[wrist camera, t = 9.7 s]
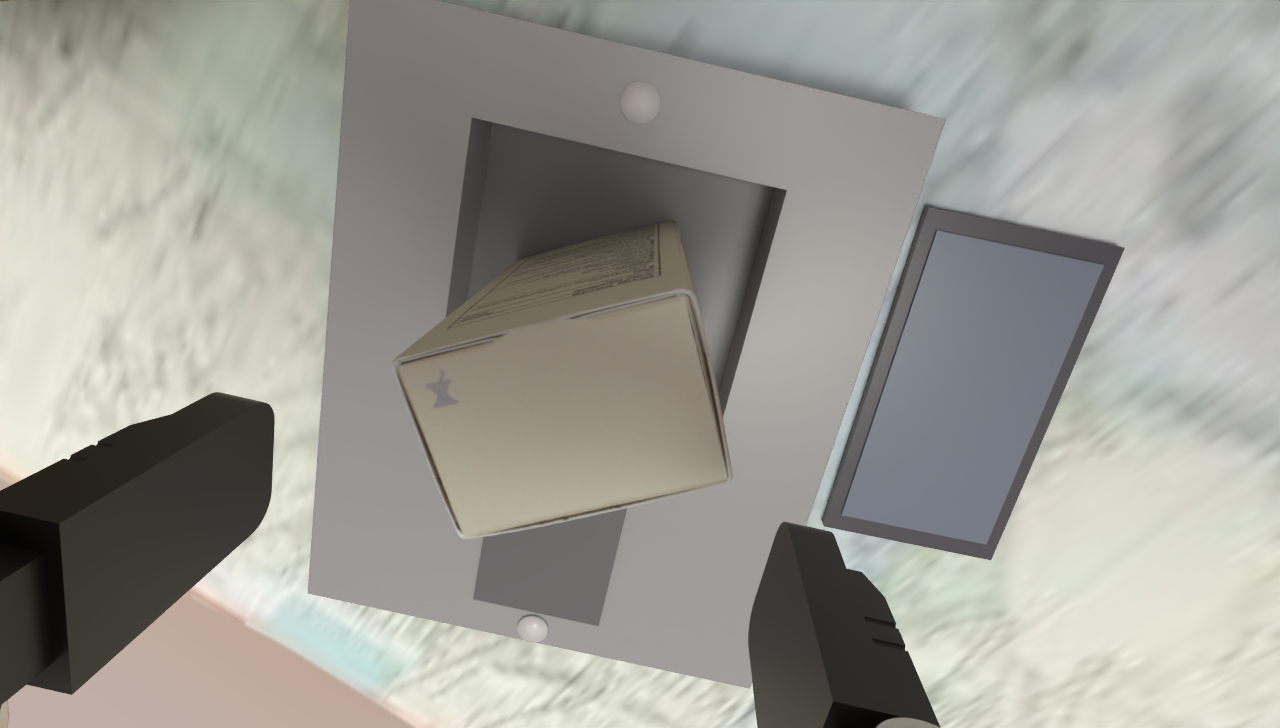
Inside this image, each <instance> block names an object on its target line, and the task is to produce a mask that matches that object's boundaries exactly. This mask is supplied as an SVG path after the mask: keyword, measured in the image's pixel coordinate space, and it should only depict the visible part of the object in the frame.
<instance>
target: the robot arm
mask: <svg viewBox="0 0 1280 728" xmlns="http://www.w3.org/2000/svg"><path fill="white" fill-rule="evenodd" d="M273 445H274V413H273V410H272V408H271V406H270V405H269V404H267V403H264V402H260V401H255V400H251V399H246V398H242V397H238V396H233V395H229V394H224V393H219V392H216V393H212V394H210V395H208V396H206V397H204V398H202V399H200V400H198V401H196V402H194V403H192V404H190V405H189V406H187V407H185V408H183V409H181V410H179V411H177V412H175V413H173V414H171V415H167V416H163V417H160V418H156V419H152V420H148V421H144V422H141V423H137V424H133V425H130V426H128V427H126V428H124V429H122V430H120V431H118V432H116V433H114V434H112V435H110V436H108V437H106V438H104V439H102V440H100V441H98V444H97V445H96V446H95V445H90V446H88V447H86V448H84V449H82V450H80V451H78V452H76V453H74V454H72V455H71V457H70V459H69V460H67V459H62V460H60V461H58V462H56V463H54V464H52V465H50V466H48V467H46V468H44V469H43V470H41V471H39V472H37V473H35V474H33V475H31V476H29V477H27V478H25V479H23V480H21V481H19V482H17V483H15V484H13V485H11V486H9V487H7V488H5V489H3V490H1V491H0V728H8V724H9V706H8V699H9V698H10V697H11V696H13V695H14V694H15V693H16V692H18V691H19V690H20V689H21V688H23V687H24V686H25V685H26V684H27V685H31V686H36V687H40V688H44V689H49V690H53V691H58V692H62V693H67V694H71V695H72V694H73V693H74V692H76V690H78V689H79V688H80V687H81V686H82V685H83V684H84V683H86V682H87V681H88V680H89V679H90V678H91V677H92V676H93V675H94V674H95V673H97V672H98V671H99V670H100V669H101V668H102V667H103V666H105V665H106V664H107V663H108V662H109V661H110V660H111V659H112V658H113V657H114V656H116V655H117V654H118V653H119V652H120V651H121V650H123V649H124V647H126V646H127V645H128V644H129V643H130V642H131V641H133V639H135V638H136V637H137V636H138V635H139V634H140V633H142V632H143V631H144V630H145V629H146V628H147V627H148V626H149V625H150V624H152V623H153V622H154V621H155V620H156V619H157V618H158V617H159V616H160V615H162V614H163V613H164V612H165V611H166V610H167V609H168V608H170V607H171V606H172V605H173V604H174V603H175V602H176V601H177V600H178V599H179V598H181V597H182V596H183V595H184V594H185V593H186V592H187V591H189V590H190V589H191V588H192V587H193V586H194V585H195V584H196V583H197V582H199V581H200V580H201V579H202V578H203V577H204V576H205V575H206V574H208V573H209V572H210V571H211V570H212V569H213V568H214V567H215V566H217V565H218V564H219V563H220V562H221V561H222V560H223V559H224V558H225V557H227V556H228V555H229V554H230V553H231V552H232V551H233V550H234V549H236V548H237V547H238V546H239V545H240V544H241V543H242V542H243V541H244V540H246V539H247V538H248V537H249V536H250V535H251V534H252V533H253V532H254V531H255V530H256V529H257V528H258V526H259V525H260V523H261V522H262V520H263V518H264V516H265V514H266V512H267V509H268V506H269V503H270V498H271V491H272V468H273ZM895 626H896V622H895V620H894V618H893V615H892V613H891V611H890V608H889V606H888V604H887V601H886V599H885V597H884V596H883V595H882V594H881V593H880V592H879V591H878V589H877V588H876V587H875V586H874V585H873V584H872V583H871V582H870V581H869V580H868V578H867V577H866V576H865V575H864V574H863V573H862V572H859V571H854V570H850V569H846V567H845V564H844V561H843V558H842V556H841V553H840V550H839V547H838V545H837V542H836V539H835V537H834V535H833V533H832V532H829V531H825V530H820V529H816V528H812V527H807V526H803V525H798V524H794V523H789V522H782V523H781V525H780V526H779V528H778V530H777V532H776V535H775V538H774V541H773V544H772V547H771V550H770V553H769V557H768V560H767V563H766V566H765V569H764V572H763V575H762V578H761V581H760V584H759V588H758V591H757V594H756V597H755V600H754V603H753V607H752V611H751V616H750V622H749V632H748V648H749V657H750V665H751V674H752V683H753V691H754V700H755V709H756V717H757V726H758V728H940V725H939V723H938V721H937V718H936V716H935V714H934V711H933V709H932V707H931V704H930V702H929V700H928V697H927V695H926V693H925V690H924V688H923V686H922V683H921V681H920V679H919V676H918V674H917V672H916V669H915V667H914V665H913V662H912V660H911V658H910V655H909V653H908V651H905V644H904V641H903V639H902V636H901V634H900V632H899V629H897V628H895Z"/></svg>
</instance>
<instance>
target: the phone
mask: <svg viewBox="0 0 1280 728" xmlns="http://www.w3.org/2000/svg"><path fill="white" fill-rule="evenodd" d="M1123 251H1124V248H1123V247H1119V246H1114V245H1109V244H1105V243H1100V242H1095V241H1090V240H1085V239H1081V238H1076V237H1071V236H1066V235H1062V234H1057V233H1052V232H1047V231H1042V230H1038V229H1033V228H1028V227H1023V226H1019V225H1014V224H1009V223H1004V222H999V221H995V220H990V219H985V218H980V217H975V216H971V215H966V214H961V213H956V212H952V211H947V210H942V209H937V208H932V207H928V206H925V207H924V210H923V213H922V216H921V219H920V222H919V225H918V228H917V231H916V234H915V238H914V241H913V244H912V247H911V250H910V253H909V256H908V259H907V262H906V265H905V268H904V271H903V274H902V277H901V280H900V283H899V286H898V289H897V292H896V296H895V299H894V302H893V305H892V308H891V311H890V314H889V317H888V320H887V323H886V326H885V329H884V332H883V335H882V338H881V341H880V344H879V347H878V350H877V354H876V357H875V360H874V363H873V366H872V369H871V372H870V375H869V378H868V381H867V384H866V387H865V390H864V393H863V396H862V399H861V402H860V405H859V409H858V412H857V415H856V418H855V421H854V424H853V427H852V430H851V433H850V436H849V439H848V442H847V445H846V448H845V451H844V454H843V457H842V460H841V463H840V467H839V470H838V473H837V476H836V479H835V482H834V485H833V488H832V491H831V494H830V497H829V500H828V503H827V506H826V509H825V512H824V515H823V518H822V522H823V525H824V526H826V527H830V528H835V529H840V530H845V531H850V532H855V533H860V534H865V535H870V536H875V537H880V538H885V539H890V540H894V541H899V542H904V543H909V544H914V545H919V546H924V547H929V548H934V549H939V550H944V551H949V552H954V553H958V554H963V555H968V556H973V557H978V558H983V559H988V560H991V559H992V557H993V554H994V552H995V550H996V547H997V545H998V543H999V540H1000V538H1001V536H1002V533H1003V531H1004V529H1005V526H1006V524H1007V522H1008V519H1009V517H1010V515H1011V512H1012V510H1013V508H1014V505H1015V503H1016V501H1017V498H1018V496H1019V494H1020V491H1021V489H1022V487H1023V484H1024V482H1025V480H1026V477H1027V475H1028V473H1029V470H1030V468H1031V466H1032V463H1033V461H1034V459H1035V456H1036V454H1037V452H1038V449H1039V447H1040V445H1041V442H1042V440H1043V438H1044V435H1045V433H1046V431H1047V428H1048V426H1049V424H1050V421H1051V419H1052V417H1053V414H1054V412H1055V410H1056V407H1057V405H1058V403H1059V400H1060V398H1061V396H1062V393H1063V391H1064V389H1065V386H1066V384H1067V382H1068V379H1069V377H1070V375H1071V372H1072V370H1073V368H1074V365H1075V363H1076V361H1077V358H1078V356H1079V354H1080V351H1081V349H1082V347H1083V344H1084V342H1085V340H1086V337H1087V335H1088V333H1089V330H1090V328H1091V325H1092V323H1093V321H1094V318H1095V316H1096V314H1097V311H1098V309H1099V307H1100V304H1101V302H1102V300H1103V297H1104V295H1105V293H1106V290H1107V288H1108V286H1109V283H1110V281H1111V279H1112V276H1113V274H1114V272H1115V269H1116V267H1117V265H1118V262H1119V260H1120V258H1121V255H1122V253H1123Z"/></svg>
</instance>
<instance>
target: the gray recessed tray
mask: <svg viewBox="0 0 1280 728" xmlns="http://www.w3.org/2000/svg"><path fill="white" fill-rule="evenodd" d="M945 120H946V119H943V118H939V117H935V116H930V115H926V114H922V113H917V112H913V111H909V110H905V109H900V108H896V107H892V106H888V105H883V104H879V103H875V102H870V101H866V100H862V99H858V98H853V97H849V96H845V95H841V94H836V93H832V92H828V91H824V90H819V89H815V88H811V87H806V86H802V85H798V84H794V83H789V82H785V81H781V80H777V79H772V78H768V77H764V76H760V75H755V74H751V73H747V72H742V71H738V70H734V69H730V68H725V67H721V66H717V65H713V64H708V63H704V62H700V61H696V60H691V59H687V58H683V57H678V56H674V55H670V54H666V53H661V52H657V51H653V50H649V49H644V48H640V47H636V46H631V45H627V44H623V43H619V42H614V41H610V40H606V39H602V38H597V37H593V36H589V35H585V34H580V33H576V32H572V31H567V30H563V29H559V28H555V27H550V26H546V25H542V24H538V23H533V22H529V21H525V20H521V19H516V18H512V17H508V16H503V15H499V14H495V13H491V12H486V11H482V10H478V9H474V8H469V7H465V6H461V5H456V4H452V3H448V2H444V1H439V0H350V8H349V22H348V36H347V50H346V64H345V78H344V92H343V106H342V120H341V134H340V148H339V162H338V176H337V190H336V204H335V218H334V232H333V246H332V260H331V274H330V288H329V303H328V317H327V331H326V345H325V359H324V373H323V387H322V401H321V415H320V429H319V443H318V457H317V471H316V485H315V499H314V513H313V527H312V541H311V555H310V569H309V583H308V593H309V594H313V595H318V596H323V597H327V598H332V599H336V600H341V601H346V602H350V603H355V604H360V605H364V606H369V607H374V608H378V609H383V610H388V611H392V612H397V613H401V614H406V615H411V616H415V617H420V618H425V619H429V620H434V621H439V622H443V623H448V624H453V625H457V626H462V627H466V628H471V629H476V630H480V631H485V632H490V633H494V634H499V635H504V636H508V637H513V638H518V639H522V640H525V641H528V642H536V643H541V644H545V645H550V646H555V647H559V648H564V649H569V650H573V651H578V652H583V653H587V654H592V655H596V656H601V657H606V658H610V659H615V660H620V661H624V662H629V663H634V664H638V665H643V666H648V667H652V668H657V669H661V670H666V671H671V672H675V673H680V674H685V675H689V676H694V677H699V678H703V679H708V680H713V681H717V682H722V683H726V684H731V685H736V686H740V687H745V688H750V687H751V684H752V674H751V665H750V657H749V648H748V632H749V622H750V616H751V611H752V607H753V603H754V600H755V597H756V594H757V591H758V588H759V584H760V581H761V578H762V575H763V572H764V569H765V566H766V563H767V560H768V557H769V553H770V550H771V547H772V544H773V541H774V538H775V535H776V532H777V530H778V528H779V526H780V525H781V523H782V522H789V523H794V524H798V525H803V526H806V524H807V521H808V518H809V515H810V512H811V510H812V507H813V504H814V501H815V498H816V495H817V492H818V489H819V486H820V483H821V480H822V478H823V475H824V472H825V469H826V466H827V463H828V460H829V457H830V454H831V451H832V449H833V446H834V443H835V440H836V437H837V434H838V431H839V428H840V425H841V422H842V420H843V417H844V414H845V411H846V408H847V405H848V402H849V399H850V396H851V393H852V390H853V388H854V385H855V382H856V379H857V376H858V373H859V370H860V367H861V364H862V361H863V359H864V356H865V353H866V350H867V347H868V344H869V341H870V338H871V335H872V332H873V329H874V327H875V324H876V321H877V318H878V315H879V312H880V309H881V306H882V303H883V300H884V298H885V295H886V292H887V289H888V286H889V283H890V280H891V277H892V274H893V271H894V268H895V266H896V263H897V260H898V257H899V254H900V251H901V248H902V245H903V242H904V239H905V237H906V234H907V231H908V228H909V225H910V222H911V219H912V216H913V213H914V210H915V208H916V205H917V202H918V199H919V196H920V193H921V190H922V187H923V184H924V181H925V178H926V176H927V173H928V170H929V167H930V164H931V161H932V158H933V155H934V152H935V149H936V147H937V144H938V141H939V138H940V135H941V132H942V129H943V126H944V123H945ZM667 221H674V222H676V223H677V225H678V227H679V230H680V234H681V237H682V241H683V245H684V249H685V253H686V257H687V261H688V265H689V270H690V274H691V278H692V283H693V286H694V290H695V293H696V297H697V301H698V305H699V309H700V313H701V317H702V322H703V326H704V330H705V334H706V339H707V343H708V348H709V352H710V357H711V361H712V366H713V370H714V375H715V380H716V385H717V390H718V395H719V400H720V405H721V411H722V416H723V421H724V427H725V433H726V438H727V444H728V450H729V456H730V461H731V466H732V472H733V478H732V481H731V482H730V483H728V484H725V485H720V486H716V487H712V488H708V489H704V490H700V491H696V492H692V493H689V494H685V495H680V496H676V497H672V498H668V499H665V500H661V501H656V502H652V503H647V504H642V505H639V506H635V507H630V508H626V509H621V510H617V511H613V512H608V513H604V514H599V515H595V516H590V517H586V518H581V519H575V520H572V521H567V522H562V523H558V524H553V525H549V526H545V527H537V528H533V529H528V530H522V531H517V532H511V533H504V534H499V535H494V536H486V537H479V538H473V539H462V538H460V537H459V536H458V534H457V532H456V530H455V528H454V526H453V523H452V521H451V518H450V515H449V513H448V511H447V509H446V507H445V505H444V504H443V501H442V498H441V496H440V494H439V492H438V489H437V486H436V484H435V481H434V479H433V476H432V474H431V471H430V469H429V466H428V463H427V460H426V458H425V455H424V453H423V450H422V447H421V444H420V442H419V439H418V437H417V434H416V432H415V429H414V426H413V423H412V420H411V417H410V414H409V412H408V410H407V407H406V404H405V401H404V398H403V395H402V392H401V389H400V387H399V384H398V382H397V379H396V377H395V374H394V371H393V368H392V362H393V360H394V359H395V358H396V357H397V356H399V355H400V354H402V353H403V352H404V351H405V350H407V349H408V348H409V347H410V346H411V345H413V344H414V343H415V342H416V341H417V340H419V339H420V338H421V337H423V336H424V335H425V334H426V333H428V332H429V331H430V330H431V329H432V328H433V327H435V326H436V325H437V324H439V323H440V322H441V321H442V320H444V319H445V318H446V317H447V316H448V315H450V314H451V313H452V312H454V311H455V310H456V309H457V308H459V307H460V306H461V305H462V304H464V303H465V302H466V301H468V300H469V299H470V298H471V297H472V296H474V295H475V294H476V293H477V292H479V291H480V290H481V289H482V288H484V287H485V286H486V285H487V284H489V283H490V282H491V281H492V280H494V279H495V278H496V277H497V276H499V275H500V274H501V273H502V272H503V271H505V270H506V269H507V268H508V267H510V266H511V265H512V264H513V263H514V262H516V261H518V260H521V259H524V258H527V257H531V256H534V255H537V254H541V253H544V252H548V251H551V250H555V249H558V248H562V247H565V246H569V245H573V244H576V243H580V242H584V241H588V240H592V239H595V238H599V237H603V236H607V235H611V234H615V233H619V232H623V231H627V230H631V229H635V228H640V227H644V226H648V225H653V224H658V223H662V222H667Z"/></svg>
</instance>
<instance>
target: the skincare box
mask: <svg viewBox="0 0 1280 728" xmlns="http://www.w3.org/2000/svg"><path fill="white" fill-rule="evenodd" d="M392 368H393V371H394V374H395V377H396V379H397V382H398V384H399V387H400V389H401V392H402V395H403V398H404V401H405V404H406V407H407V410H408V412H409V414H410V417H411V420H412V423H413V426H414V429H415V432H416V434H417V437H418V439H419V442H420V444H421V447H422V450H423V453H424V455H425V458H426V460H427V463H428V466H429V469H430V471H431V474H432V476H433V479H434V481H435V484H436V486H437V489H438V492H439V494H440V496H441V498H442V501H443V504H444V505H445V507H446V509H447V511H448V513H449V515H450V518H451V521H452V523H453V526H454V528H455V530H456V532H457V534H458V536H459V537H460V538H462V539H473V538H479V537H486V536H494V535H499V534H504V533H511V532H517V531H522V530H528V529H533V528H537V527H545V526H549V525H553V524H558V523H562V522H567V521H572V520H575V519H581V518H586V517H590V516H595V515H599V514H604V513H608V512H613V511H617V510H621V509H626V508H630V507H635V506H639V505H642V504H647V503H652V502H656V501H661V500H665V499H668V498H672V497H676V496H680V495H685V494H689V493H692V492H696V491H700V490H704V489H708V488H712V487H716V486H720V485H725V484H728V483H730V482H731V481H732V478H733V472H732V466H731V461H730V456H729V450H728V444H727V438H726V433H725V427H724V421H723V416H722V411H721V405H720V400H719V395H718V390H717V385H716V380H715V375H714V370H713V366H712V361H711V357H710V352H709V348H708V343H707V339H706V334H705V330H704V326H703V322H702V317H701V313H700V309H699V305H698V301H697V297H696V293H695V290H694V286H693V283H692V278H691V274H690V270H689V265H688V261H687V257H686V253H685V249H684V245H683V241H682V237H681V234H680V230H679V227H678V225H677V223H676V222H674V221H667V222H662V223H658V224H653V225H648V226H644V227H640V228H635V229H631V230H627V231H623V232H619V233H615V234H611V235H607V236H603V237H599V238H595V239H592V240H588V241H584V242H580V243H576V244H573V245H569V246H565V247H562V248H558V249H555V250H551V251H548V252H544V253H541V254H537V255H534V256H531V257H527V258H524V259H521V260H518V261H516V262H514V263H513V264H512V265H511V266H510V267H508V268H507V269H506V270H505V271H503V272H502V273H501V274H500V275H499V276H497V277H496V278H495V279H494V280H492V281H491V282H490V283H489V284H487V285H486V286H485V287H484V288H482V289H481V290H480V291H479V292H477V293H476V294H475V295H474V296H472V297H471V298H470V299H469V300H468V301H466V302H465V303H464V304H462V305H461V306H460V307H459V308H457V309H456V310H455V311H454V312H452V313H451V314H450V315H448V316H447V317H446V318H445V319H444V320H442V321H441V322H440V323H439V324H437V325H436V326H435V327H433V328H432V329H431V330H430V331H429V332H428V333H426V334H425V335H424V336H423V337H421V338H420V339H419V340H417V341H416V342H415V343H414V344H413V345H411V346H410V347H409V348H408V349H407V350H405V351H404V352H403V353H402V354H400V355H399V356H397V357H396V358H395V359H394V360H393V362H392Z"/></svg>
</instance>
